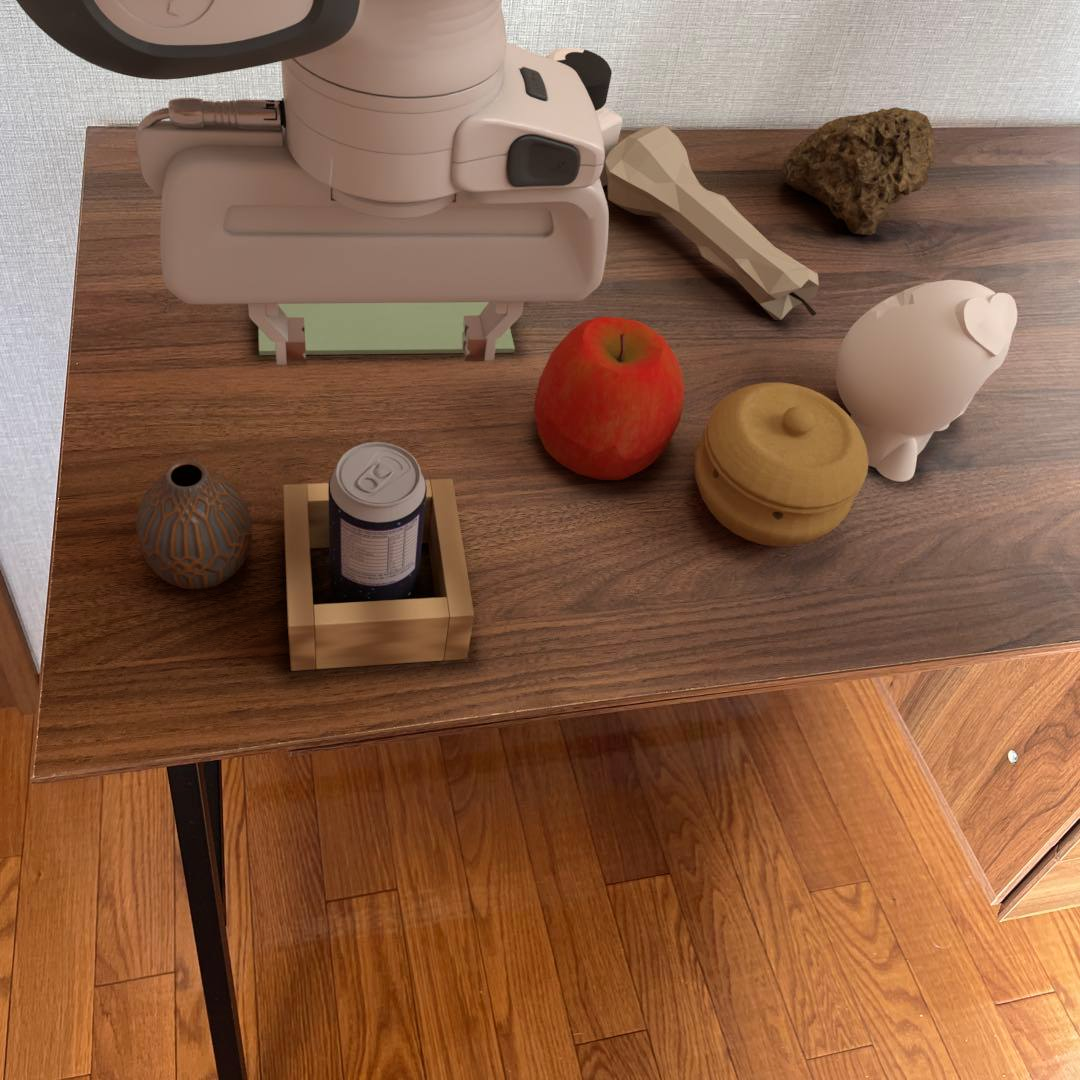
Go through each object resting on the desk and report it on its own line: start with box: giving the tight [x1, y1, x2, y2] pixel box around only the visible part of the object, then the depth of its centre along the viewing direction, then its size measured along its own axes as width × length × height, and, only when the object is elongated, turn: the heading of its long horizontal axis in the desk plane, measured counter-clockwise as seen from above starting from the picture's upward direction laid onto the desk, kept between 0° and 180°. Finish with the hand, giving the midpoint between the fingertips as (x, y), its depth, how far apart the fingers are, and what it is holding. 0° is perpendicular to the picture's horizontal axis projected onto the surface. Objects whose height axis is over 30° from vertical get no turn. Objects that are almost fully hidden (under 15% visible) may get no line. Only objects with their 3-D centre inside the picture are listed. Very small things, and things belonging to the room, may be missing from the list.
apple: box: [533, 316, 686, 481], centre depth 80 cm, size 11×11×11 cm
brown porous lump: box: [781, 107, 935, 236], centre depth 104 cm, size 11×13×15 cm
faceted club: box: [605, 124, 820, 321], centre depth 98 cm, size 9×8×25 cm
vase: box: [135, 459, 253, 590], centre depth 69 cm, size 7×7×9 cm
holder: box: [282, 478, 475, 672], centre depth 71 cm, size 11×11×5 cm
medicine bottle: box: [545, 47, 623, 188], centre depth 101 cm, size 7×7×12 cm
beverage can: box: [328, 441, 427, 603], centre depth 68 cm, size 6×6×12 cm
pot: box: [693, 381, 869, 547], centre depth 79 cm, size 12×12×10 cm
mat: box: [257, 302, 516, 356], centre depth 93 cm, size 20×20×1 cm
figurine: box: [835, 279, 1018, 483], centre depth 84 cm, size 11×11×15 cm
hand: (385, 355), depth 56 cm, fingers open, 8 cm apart
